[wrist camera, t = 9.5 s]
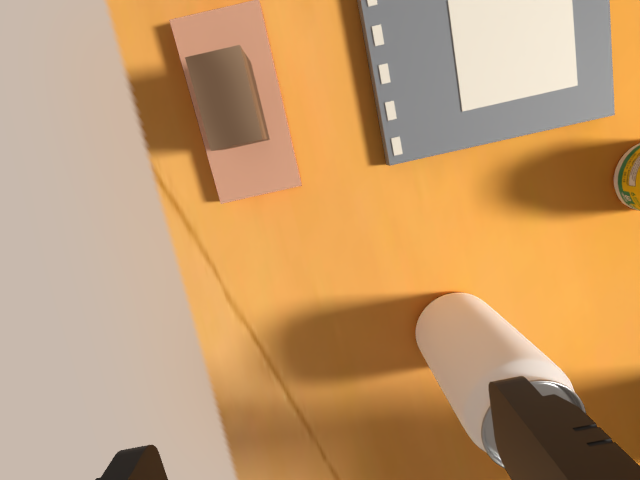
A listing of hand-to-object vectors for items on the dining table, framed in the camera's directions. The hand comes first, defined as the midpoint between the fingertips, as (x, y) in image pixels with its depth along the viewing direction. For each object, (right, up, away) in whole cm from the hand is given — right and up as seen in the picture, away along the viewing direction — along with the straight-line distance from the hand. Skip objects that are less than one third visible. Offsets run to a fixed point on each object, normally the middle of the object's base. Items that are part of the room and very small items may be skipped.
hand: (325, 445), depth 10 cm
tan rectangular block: (-6, +14, +19) cm, 24 cm away
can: (+11, -2, +24) cm, 26 cm away
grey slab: (+11, +18, +19) cm, 28 cm away
